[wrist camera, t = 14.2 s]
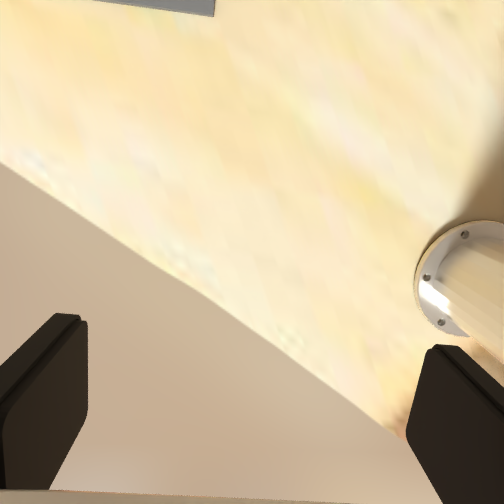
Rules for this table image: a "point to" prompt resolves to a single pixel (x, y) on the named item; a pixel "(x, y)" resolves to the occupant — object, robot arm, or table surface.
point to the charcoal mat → (173, 5)
